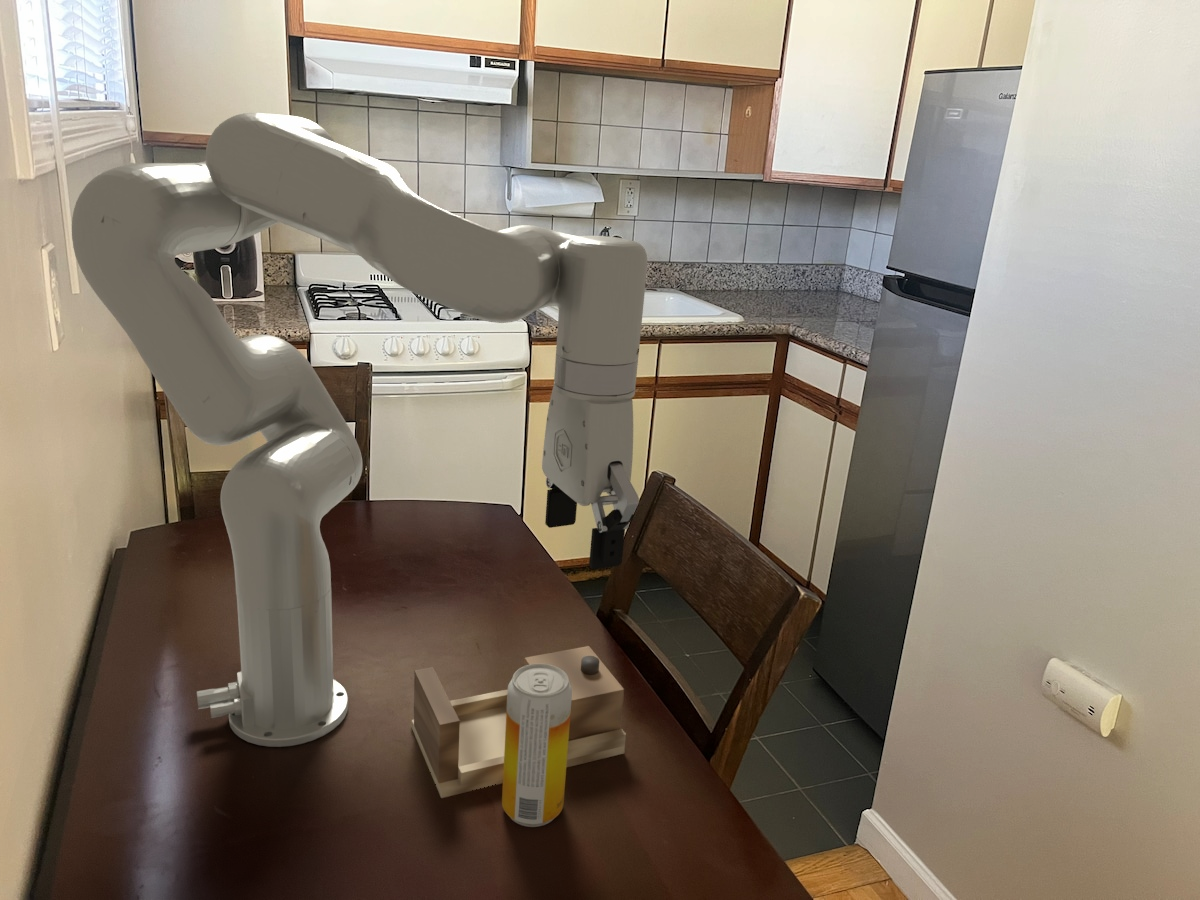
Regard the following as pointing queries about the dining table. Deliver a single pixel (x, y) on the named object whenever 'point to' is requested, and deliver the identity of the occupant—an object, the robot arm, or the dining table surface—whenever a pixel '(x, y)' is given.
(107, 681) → the dining table surface
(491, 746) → the vise base
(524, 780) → the beer can
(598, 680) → the block
